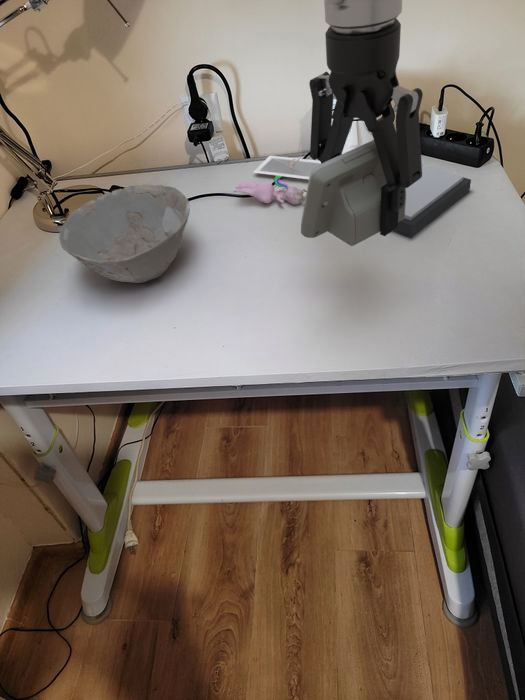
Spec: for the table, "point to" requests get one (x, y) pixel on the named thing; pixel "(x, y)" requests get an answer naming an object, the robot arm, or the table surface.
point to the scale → (430, 198)
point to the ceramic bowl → (128, 232)
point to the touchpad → (287, 167)
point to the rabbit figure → (272, 191)
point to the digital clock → (346, 196)
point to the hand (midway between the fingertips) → (362, 220)
